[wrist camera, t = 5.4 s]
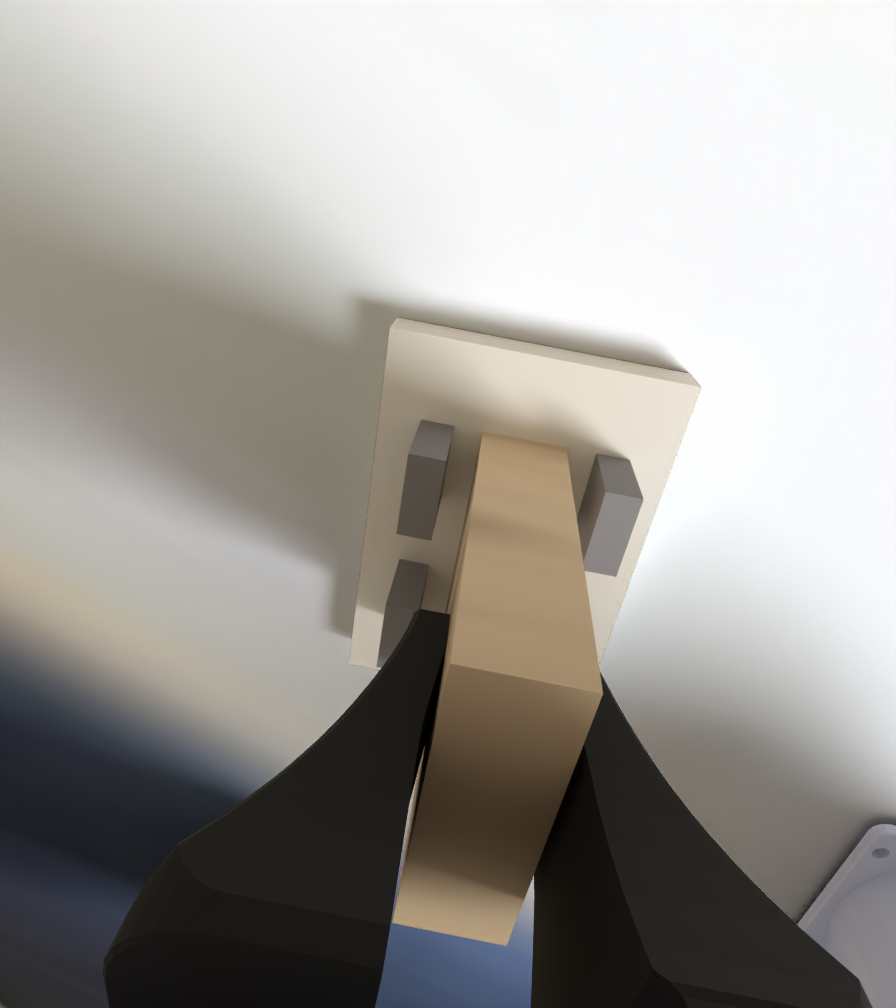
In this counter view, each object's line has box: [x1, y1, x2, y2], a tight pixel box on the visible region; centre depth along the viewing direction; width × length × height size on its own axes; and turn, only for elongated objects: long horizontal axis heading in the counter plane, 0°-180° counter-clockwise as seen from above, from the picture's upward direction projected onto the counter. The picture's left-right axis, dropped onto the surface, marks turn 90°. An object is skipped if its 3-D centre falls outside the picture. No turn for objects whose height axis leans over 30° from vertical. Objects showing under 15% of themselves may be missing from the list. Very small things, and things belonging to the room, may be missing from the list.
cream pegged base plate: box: [349, 317, 701, 670], centre depth 16 cm, size 10×7×3 cm
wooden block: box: [393, 432, 603, 946], centre depth 13 cm, size 6×2×8 cm, turn 171°
